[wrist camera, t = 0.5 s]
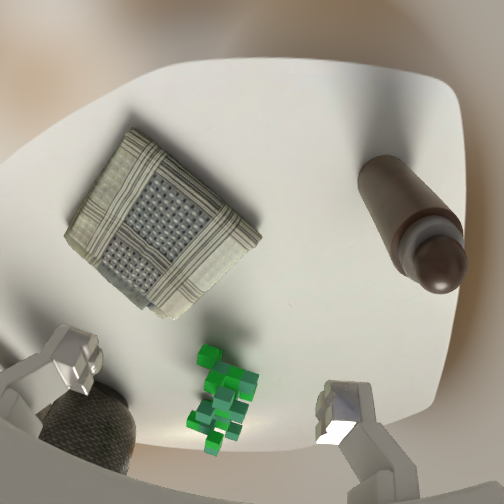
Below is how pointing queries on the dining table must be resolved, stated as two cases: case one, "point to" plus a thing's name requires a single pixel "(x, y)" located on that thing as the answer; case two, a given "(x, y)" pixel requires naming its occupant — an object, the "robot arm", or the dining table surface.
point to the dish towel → (157, 229)
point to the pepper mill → (414, 225)
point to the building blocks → (222, 399)
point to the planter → (92, 427)
